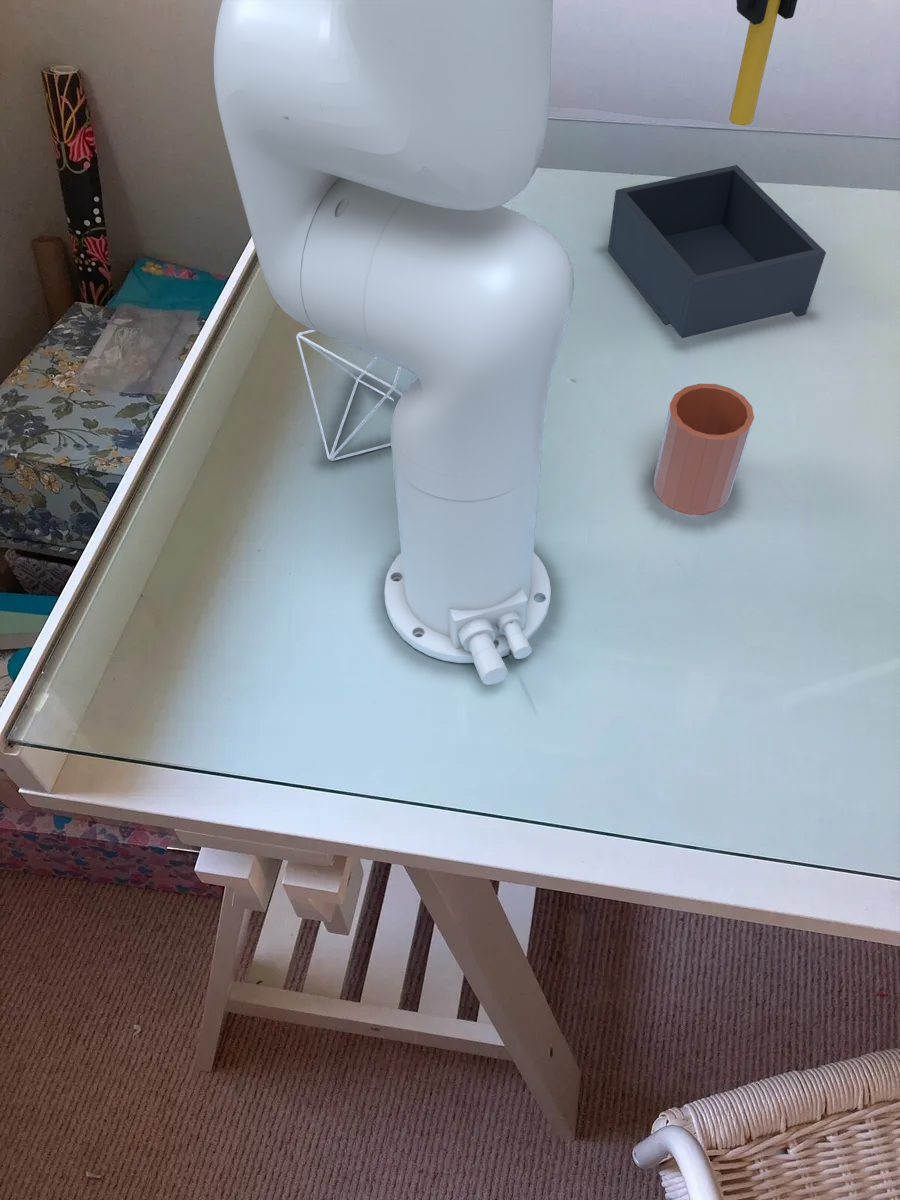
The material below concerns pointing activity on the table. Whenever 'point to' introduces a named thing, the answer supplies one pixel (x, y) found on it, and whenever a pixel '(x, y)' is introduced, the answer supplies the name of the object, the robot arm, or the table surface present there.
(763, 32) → the pencil
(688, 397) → the pencil cup
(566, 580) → the table surface
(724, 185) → the bin
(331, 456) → the geometric polyhedron
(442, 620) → the robot arm
